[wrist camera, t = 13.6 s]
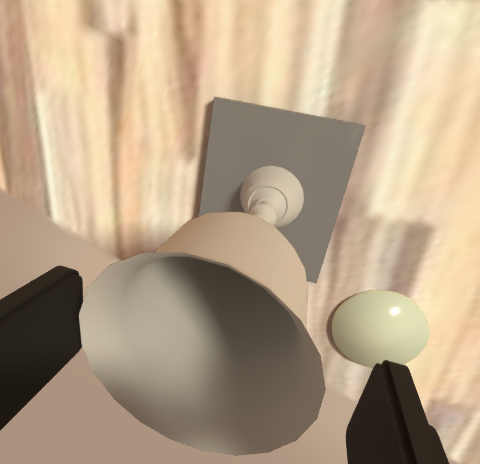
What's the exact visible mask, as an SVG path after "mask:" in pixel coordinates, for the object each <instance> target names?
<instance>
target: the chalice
mask: <svg viewBox="0 0 480 464" xmlns="http://www.w3.org/2000/svg"><path fill="white" fill-rule="evenodd" d="M240 200H241V206H242V208H243V210H244V212H245V213H243V212H220V213H207V214H204V215H202V216H199V217H197V218H194V219H192V220H189V221H188V222H187V223H185V224H184V225H183V226H182V227H181V228H180V229H179V230H178V231H177V232H176V233H175V234H173V235H172V236H171V237H170V238H169V239H168V240H167V241H166V242H165V243H164V244H163V245H161V246H160V247H159V248H158V249H157V250H156V251H155V252H154V253H141V254H138V255H135V256H133V257H130V258H127V259H125V260H122V261H119V262H117V263H114V264H111V265H109V266H108V267H107V268H106V269H105V270H104V271H103V272H102V273H101V274H100V275H99V277H97V278H96V279H95V280H94V281H93V282H92V284H90V286H89V287H88V288H87V291H86V295H85V297H84V301H83V304H82V307H81V310H80V313H79V321H80V332H81V342H82V346H83V349H84V351H85V353H86V355H87V358H88V360H89V362H90V365H91V367H92V369H93V371H94V373H95V375H96V376H97V378H98V379H99V380H100V381H101V383H102V384H103V385H104V387H105V388H106V389H107V390H108V392H109V393H110V394H111V395H112V397H113V398H114V400H116V401H117V402H118V403H119V404H120V405H121V406H123V407H124V408H125V409H126V410H127V411H128V412H129V413H131V414H132V415H133V416H134V417H135V418H136V419H138V420H139V421H140V422H141V423H143V424H145V425H147V426H148V427H150V428H152V429H154V430H155V431H157V432H159V433H160V434H162V435H164V436H165V437H167V438H169V439H171V440H174V441H177V442H179V443H182V444H185V445H188V446H191V447H193V448H196V449H199V450H202V451H208V452H215V453H222V454H228V455H235V456H238V455H248V454H258V453H267V452H271V451H273V450H275V449H278V448H280V447H282V446H284V445H287V444H289V443H291V442H294V441H296V440H297V439H298V438H299V437H300V436H301V435H302V434H303V433H304V432H305V430H307V429H308V428H309V427H310V426H311V424H312V423H313V422H314V421H315V420H316V419H317V416H318V413H319V410H320V407H321V403H322V400H323V396H324V393H325V390H326V389H325V382H324V376H323V369H322V362H321V356H320V354H319V352H318V350H317V348H316V346H315V345H314V343H313V341H312V339H311V337H310V336H309V334H308V332H307V304H308V287H307V280H306V273H305V268H304V266H303V264H302V262H301V261H300V259H299V257H298V255H297V253H296V251H295V249H294V248H293V246H292V245H291V244H290V243H289V241H288V240H287V239H286V238H285V237H284V236H283V235H282V234H281V233H280V232H279V231H278V230H277V227H282V226H285V225H287V224H289V223H291V222H292V221H293V220H294V219H295V218H297V216H298V214H299V213H300V211H301V210H302V206H303V202H304V195H303V189H302V187H301V184H300V182H299V180H298V179H297V178H296V177H295V176H294V175H293V174H292V173H291V172H289V171H287V170H286V169H284V168H281V167H276V166H266V167H261V168H259V169H257V170H255V171H253V172H252V173H251V174H250V175H249V176H248V177H246V179H245V181H244V183H243V185H242V186H241V192H240Z"/></svg>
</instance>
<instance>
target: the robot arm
mask: <svg viewBox="0 0 480 464" xmlns="http://www.w3.org/2000/svg"><path fill="white" fill-rule="evenodd" d="M82 286H83V284H82V278H81V276H79V273H78V271H76V270H74V269H70V268H67V267H64V266H57V267H55V268H53V269H51V270H50V271H48V272H46V273H45V274H43V275H41V276H40V277H38V278H36V279H35V280H33V281H31V282H29V283H28V284H26V285H25V286H23V287H21V288H19V289H18V290H16V291H14V292H13V293H11V294H9V295H8V296H6V297H4V298H2V299H1V300H0V430H1V429H2V428H3V427H4V426H5V425H6V424H7V423H8V422H9V421H10V420H11V419H12V418H13V417H14V416H15V415H16V414H17V413H18V412H19V411H20V410H21V409H22V408H23V407H24V406H25V405H26V404H27V403H28V402H29V401H30V400H31V399H32V398H33V397H34V396H35V395H36V394H37V393H38V392H39V391H40V390H41V389H42V388H43V387H44V386H45V385H46V384H47V383H48V382H49V381H50V380H51V379H52V378H53V377H54V376H55V375H56V374H57V373H58V372H59V371H60V370H61V369H62V368H63V367H64V366H65V365H66V364H67V363H68V362H69V361H70V360H71V359H72V358H73V357H74V356H75V355H76V354H77V353H78V352H79V350H80V349H81V347H82V342H81V332H80V321H79V313H80V310H81V307H82V304H83V287H82ZM346 447H347V459H348V464H449V462H448V459H447V457H446V454H445V451H444V449H443V446H442V443H441V441H440V438H439V436H438V434H437V432H436V430H435V429H434V428H433V427H432V426H430V425H429V424H428V421H427V418H426V415H425V413H424V410H423V407H422V404H421V401H420V399H419V396H418V393H417V390H416V387H415V385H414V382H413V379H412V376H411V373H410V371H409V369H408V367H407V366H405V365H402V364H398V363H395V362H391V361H388V360H384V361H383V362H382V364H379V363H376V364H375V366H374V368H373V370H372V372H371V375H370V377H369V379H368V381H367V384H366V386H365V388H364V390H363V393H362V395H361V397H360V399H359V402H358V404H357V406H356V408H355V411H354V413H353V415H352V417H351V420H350V422H349V424H348V427H347V431H346Z"/></svg>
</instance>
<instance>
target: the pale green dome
mask: <svg viewBox="0 0 480 464" xmlns="http://www.w3.org/2000/svg"><path fill="white" fill-rule="evenodd" d="M332 336H333V339H334V342H335V344H336V346H337V347H338V349H339V350H340V351H341V352H342V353H343V354H344V355H345V356H346V357H347V358H349V359H350V360H352V361H354V362H356V363H358V364H360V365H363V366H367V367H372V368H374V366H375V364H376V363H379V364H382V362H383V361H384V360H388V361H391V362H395V363H398V364H402V365H403V364H405V363H407V362H409V361H411V360H412V359H414V358H415V357H416V356H418V355H419V354H420V353H421V351H422V350H423V349H424V347H425V346H426V343H427V341H428V337H429V325H428V321H427V319H426V317H425V315H424V313H423V311H422V310H421V308H420V307H419V306H418V305H417V304H416V303H415V302H414V301H413V300H411V299H410V298H408V297H407V296H404V295H402V294H400V293H397V292H393V291H389V290H369V291H364V292H361V293H358V294H355V295H353V296H351V297H350V298H348V299H347V300H345V301H344V302H343V303H342V304H341V305H340V306H339V307H338V309H337V310H336V312H335V314H334V316H333V319H332Z"/></svg>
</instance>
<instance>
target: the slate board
mask: <svg viewBox="0 0 480 464" xmlns="http://www.w3.org/2000/svg"><path fill="white" fill-rule="evenodd" d="M365 126H366V125H362V124H357V123H352V122H346V121H341V120H336V119H331V118H325V117H320V116H315V115H310V114H304V113H299V112H294V111H289V110H283V109H278V108H273V107H268V106H262V105H257V104H252V103H247V102H241V101H236V100H231V99H226V98H220V97H214V101H213V109H212V116H211V124H210V132H209V140H208V148H207V155H206V163H205V171H204V179H203V187H202V195H201V202H200V210H199V216H202V215H204V214H207V213H220V212H243V213H245V212H244V210H243V208H242V206H241V200H240V192H241V186H242V185H243V183H244V181H245V179H246V177H248V176H249V175H250V174H251V173H252V172H253V171H255V170H257V169H259V168H261V167H266V166H276V167H281V168H284V169H286V170H287V171H289V172H291V173H292V174H293V175H294V176H295V177H296V178H297V179H298V180H299V182H300V184H301V187H302V189H303V195H304V202H303V206H302V210H301V211H300V213H299V214H298V216H297V218H295V219H294V220H293V221H292V222H291V223H289V224H287V225H285V226H282V227H277V230H278V231H279V232H280V233H281V234H282V235H283V236H284V237H285V238H286V239H287V240H288V241H289V243H290V244H291V245H292V246H293V248H294V249H295V251H296V253H297V255H298V257H299V259H300V261H301V262H302V264H303V266H304V268H305V273H306V280H307V281H309V282H313V283H317V280H318V276H319V273H320V270H321V267H322V264H323V260H324V257H325V254H326V251H327V248H328V244H329V241H330V238H331V235H332V232H333V228H334V225H335V222H336V219H337V216H338V212H339V209H340V206H341V203H342V200H343V196H344V193H345V190H346V187H347V184H348V180H349V177H350V174H351V171H352V168H353V164H354V161H355V158H356V155H357V152H358V148H359V145H360V142H361V139H362V136H363V132H364V129H365Z"/></svg>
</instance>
